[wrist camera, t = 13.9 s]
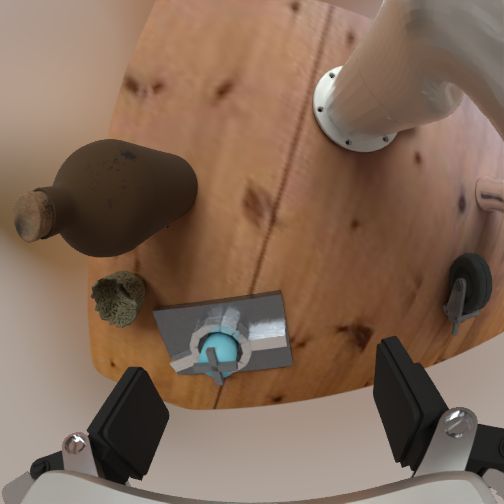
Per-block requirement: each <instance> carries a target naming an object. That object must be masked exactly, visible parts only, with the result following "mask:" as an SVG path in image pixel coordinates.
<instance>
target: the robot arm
mask: <svg viewBox="0 0 504 504" xmlns="http://www.w3.org/2000/svg"><path fill="white" fill-rule="evenodd" d="M329 76H331V77H332V78H330V77H329ZM464 93H466V94H467V95H468V97H469V98H470V99H471V100H472V101H473V102H474V103H475V105H476V106H477V107H478V108H479V109H480V111H481V112H482V113H483V114H484V115H485V116H486V117H487V118H488V119H489V121H490V122H491V123H492V125H493V126H494V128H495V129H496V130H497V132H498V133H499V135H500V136H501V138H502V139H503V141H504V0H384V1H383V3H382V6H381V8H380V10H379V12H378V14H377V16H376V18H375V19H374V21H373V23H372V24H371V26H370V27H369V29H368V30H367V32H366V33H365V35H364V36H363V38H362V39H361V41H360V42H359V44H358V45H357V47H356V48H355V49H354V51H353V52H352V54H351V55H350V57H349V58H348V60H347V61H346V63H345V64H344V66H339V67H337V68H334V69H332V70H330V71H328V72H327V73H326V74H324V75H323V76H322V77H321V79H320V80H319V82H318V83H317V85H316V87H315V90H314V94H313V110H314V115H315V117H316V120H317V122H318V124H319V126H320V127H321V129H322V130H323V132H324V133H325V134H326V135H327V136H328V137H329V138H330V139H331V140H332V141H334V142H335V143H336V144H338V145H340V146H341V147H343V148H346V149H348V150H351V151H356V152H372V151H376V150H379V149H382V148H383V147H385V146H387V145H388V144H389V143H390V142H391V141H392V140H393V139H394V138H395V136H396V135H397V133H398V132H399V131H403V130H406V129H410V128H413V127H417V126H421V125H425V124H428V123H432V122H435V121H439V120H442V119H444V118H446V117H448V116H449V115H451V114H452V113H453V112H454V111H455V110H456V109H457V108H458V106H459V105H460V103H461V101H462V99H463V96H464ZM319 109H320V110H321V112H318V110H319ZM383 138H384V139H385V141H383ZM346 141H347V142H348V145H347V144H346V143H345V142H346ZM373 396H374V400H375V403H376V406H377V409H378V411H379V414H380V417H381V419H382V423H383V426H384V429H385V431H386V435H387V438H388V441H389V444H390V447H391V450H392V453H393V456H394V459H395V462H396V463H398V462H400V463H401V466H402V468H403V467H406V466H409V465H410V468H411V470H412V471H414V472H413V474H412V476H411V478H409V479H405V480H401V481H398V482H394V483H390V484H386V485H382V486H379V487H375V488H371V489H367V490H363V491H358V492H353V493H348V494H343V495H337V496H332V497H325V498H319V499H311V500H302V501H292V502H291V501H290V502H275V503H233V502H232V503H231V502H216V501H205V500H196V499H189V498H182V497H175V496H169V495H164V494H159V493H154V492H150V491H146V490H141V489H137V488H133V487H131V486H130V484H129V481H128V478H129V476H130V477H131V478H133V479H138V480H141V481H142V478H143V476H144V475H146V474H147V472H148V470H149V467H150V464H151V462H152V460H153V457H154V455H155V452H156V449H157V447H158V445H159V442H160V439H161V437H162V435H163V432H164V430H165V427H166V425H167V422H168V420H169V411H168V409H167V408H166V406H165V404H164V402H163V401H162V399H161V397H160V395H159V393H158V392H157V390H156V388H155V386H154V384H153V382H152V380H151V378H150V376H149V374H148V373H147V371H146V370H144V369H143V368H142V367H129V368H128V369H127V370H126V371H125V373H124V374H123V376H122V377H121V379H120V380H119V382H118V383H117V385H116V386H115V388H114V389H113V391H112V392H111V394H110V395H109V397H108V398H107V400H106V401H105V403H104V404H103V406H102V407H101V409H100V410H99V412H98V413H97V415H96V416H95V418H94V419H93V421H92V423H91V424H90V426H89V427H88V429H87V432H88V433H89V435H88V436H87V435H85V434H84V433H82V432H76V433H73V434H71V435H69V436H68V437H66V439H65V440H64V441H63V444H62V451H59V452H56V453H54V454H51V455H48V456H45V457H42V458H39V459H37V460H36V461H35V462H34V463H33V464H32V466H31V468H30V473H29V472H28V471H27V472H26V473H24V474H23V475H21V476H20V477H18V478H16V479H15V480H14V481H12V482H10V483H9V484H7V485H6V486H5V487H4V488H3V490H2V496H3V499H4V502H5V504H497V502H496V500H495V498H494V496H493V494H492V492H491V490H490V488H493V489H494V490H496V491H497V493H496V494H497V495H499V496H501V497H502V498H503V499H504V429H503V428H498V427H492V426H487V425H482V424H477V422H478V421H477V417H476V415H475V414H474V413H473V412H472V411H471V410H469V409H467V408H463V407H456V408H452V409H450V410H449V408H448V407H447V405H446V403H445V402H444V400H443V398H442V397H441V395H440V393H439V392H438V390H437V389H436V387H435V385H434V383H433V382H432V380H431V379H430V377H429V375H428V374H427V372H426V371H425V369H424V367H423V366H422V365H421V364H420V363H415V364H414V363H413V361H412V359H411V358H410V356H409V355H408V353H407V351H406V350H405V348H404V347H403V345H402V344H401V342H400V341H399V339H398V338H397V336H392V337H388V338H384V339H382V340H381V343H380V344H377V351H376V366H375V377H374V388H373Z"/></svg>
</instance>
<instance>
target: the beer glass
mask: <svg viewBox="0 0 504 504" xmlns="http://www.w3.org/2000/svg"><path fill="white" fill-rule="evenodd" d="M476 199H477V202H478V204H479V206H480V207H481V208H482V209H483V210H485V211H498V212H500V213H502V214H504V179H497V178H494V177H492V176H489V175H483V176H482V177H480V179H479V180H478V182H477V186H476Z"/></svg>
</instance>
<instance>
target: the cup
mask: <svg viewBox="0 0 504 504" xmlns="http://www.w3.org/2000/svg"><path fill="white" fill-rule="evenodd" d="M92 291H93V293H92V294H91V298H92V299H95V302H96V303H97V305H96V306H95V311H99V315H100V317H101V319H102V320H108V321H110V322H109V324H110V325H113V324H114V323H116V327H118V328H119V327H121V326H122V328H123V327H125V326H126V325H128V324H129V325H130V324H131V323H132V322H133V321H134V319H135V317H136V316H137V314H138V313H139V311H140V309H141V308H142V306H143V304H144V301H145V296H146V291H145V283H144V280H143V278H142V277H141V276H139V275H138V274H133V273H131V272H127V271H120V272H116V273H114V274H111V275H109V276H107V277H105V278H102V279H100V280H98V282H97V283H96V284H95V285H94V286H93V287H92Z"/></svg>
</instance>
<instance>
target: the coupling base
mask: <svg viewBox="0 0 504 504" xmlns="http://www.w3.org/2000/svg"><path fill="white" fill-rule="evenodd" d="M152 312H153V315H154V318H155V320H156V323H157V326H158V328H159V331H160V333H161V336H162V338H163V341H164V343H165V346H166V348H167V351H168V353H169V355H170V358H171V361H170V363H169V364H170V365H171V366H172V367H173V368H174V370H175V371H176V372H177V373H178V375H179V374H205V373H204V372H199V373H194V370H193V365H194V363H198V359H199V356H200V353H201V351H202V348H203V346H204V343H205V341H206V338H207V336H208V334H209V333H211V332H223V333H226V334H229V335H232V336H233V337H234V338H235V339H236V340H237V341H238V342H239V347H238V352H237V357H236V361H237V364H238V370H237V371H233V372H240V371H251V370H261V369H270V368H278V367H285V366H292V365H293V359H292V353H291V347H290V341H289V335H288V329H287V323H286V317H285V311H284V305H283V299H282V294H281V290H278V291H272V292H265V293H259V294H252V295H245V296H238V297H231V298H224V299H217V300H209V301H202V302H194V303H186V304H177V305H169V306H160V307H155V308H154V310H153V311H152ZM233 372H232V373H233Z"/></svg>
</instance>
